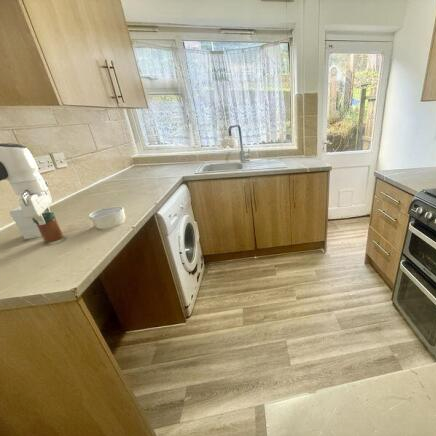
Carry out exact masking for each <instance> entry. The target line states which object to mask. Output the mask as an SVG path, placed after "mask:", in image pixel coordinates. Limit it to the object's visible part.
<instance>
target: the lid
mask: <svg viewBox="0 0 436 436" xmlns="http://www.w3.org/2000/svg"><path fill="white" fill-rule="evenodd" d="M42 217H43V219H45V221H46V222H47V221H50V220H53V219H55V218H56V216H55V213H54V212H53V211H52V212H51V211H50V212H48V213H42ZM32 220H33V222H34V223H38V221H37V220H36V219H34V218H32Z"/></svg>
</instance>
